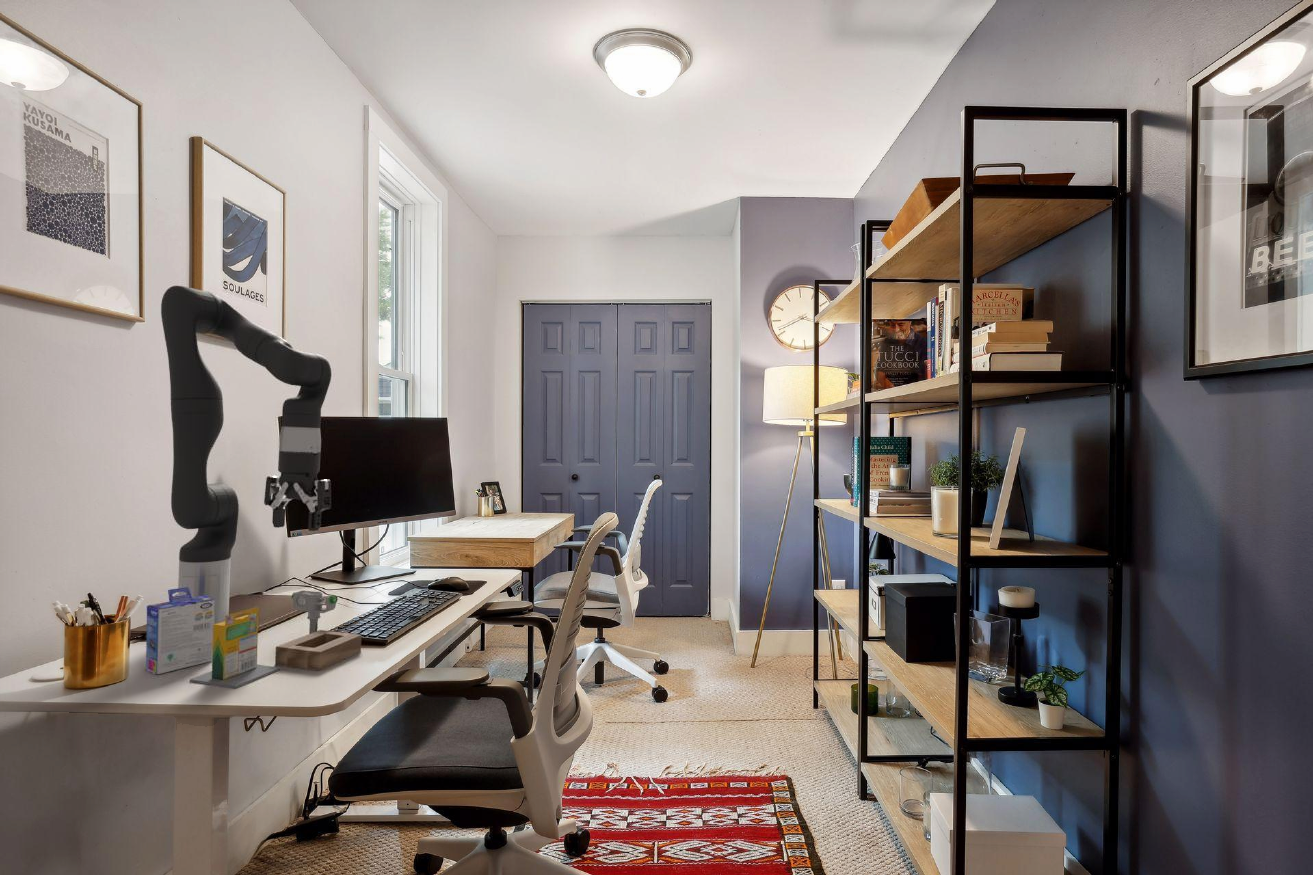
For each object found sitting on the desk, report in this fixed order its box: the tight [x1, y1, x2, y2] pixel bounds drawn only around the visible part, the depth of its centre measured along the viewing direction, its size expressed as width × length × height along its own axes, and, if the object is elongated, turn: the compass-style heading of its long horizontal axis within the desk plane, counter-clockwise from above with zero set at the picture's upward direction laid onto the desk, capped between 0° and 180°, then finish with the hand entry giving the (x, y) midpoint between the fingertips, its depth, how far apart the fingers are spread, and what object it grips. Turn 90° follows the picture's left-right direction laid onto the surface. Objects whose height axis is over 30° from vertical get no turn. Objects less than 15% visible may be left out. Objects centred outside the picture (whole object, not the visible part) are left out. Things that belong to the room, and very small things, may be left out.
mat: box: [189, 664, 281, 689], centre depth 123 cm, size 10×10×1 cm
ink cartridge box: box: [145, 587, 215, 675], centre depth 127 cm, size 10×6×14 cm, turn 149°
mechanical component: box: [291, 590, 339, 634], centre depth 146 cm, size 3×10×10 cm, turn 79°
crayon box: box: [211, 606, 260, 680], centre depth 123 cm, size 7×3×12 cm, turn 165°
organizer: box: [274, 629, 362, 671], centre depth 134 cm, size 10×12×4 cm
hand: (296, 528), depth 136 cm, fingers open, 8 cm apart
